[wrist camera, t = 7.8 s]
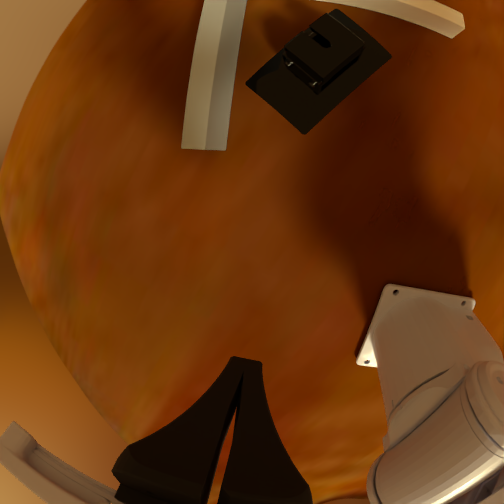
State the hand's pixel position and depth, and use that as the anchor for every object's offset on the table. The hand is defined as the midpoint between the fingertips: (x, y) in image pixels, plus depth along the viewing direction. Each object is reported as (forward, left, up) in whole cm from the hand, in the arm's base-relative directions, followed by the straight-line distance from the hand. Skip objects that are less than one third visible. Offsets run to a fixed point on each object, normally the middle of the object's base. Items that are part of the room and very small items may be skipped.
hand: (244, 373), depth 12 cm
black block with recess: (-1, -16, -11) cm, 20 cm away
